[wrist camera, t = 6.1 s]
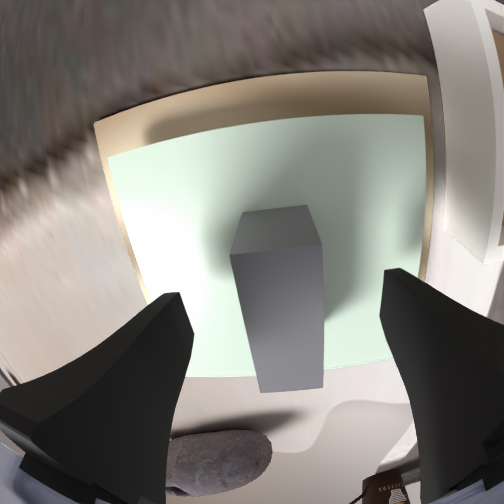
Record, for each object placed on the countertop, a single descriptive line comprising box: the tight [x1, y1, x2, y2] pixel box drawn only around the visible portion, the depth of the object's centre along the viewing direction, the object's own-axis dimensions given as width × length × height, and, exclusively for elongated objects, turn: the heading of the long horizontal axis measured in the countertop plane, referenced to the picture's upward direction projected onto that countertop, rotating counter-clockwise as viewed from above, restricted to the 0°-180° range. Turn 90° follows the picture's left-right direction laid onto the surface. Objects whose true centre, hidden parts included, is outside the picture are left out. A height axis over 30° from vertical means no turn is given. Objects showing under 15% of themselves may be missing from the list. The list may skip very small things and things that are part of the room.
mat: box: [94, 71, 434, 305], centre depth 14 cm, size 16×16×1 cm
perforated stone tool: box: [166, 429, 272, 497], centre depth 20 cm, size 15×5×7 cm, turn 125°
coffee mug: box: [350, 470, 410, 504], centre depth 26 cm, size 12×9×10 cm
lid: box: [108, 114, 426, 393], centre depth 11 cm, size 12×12×6 cm
